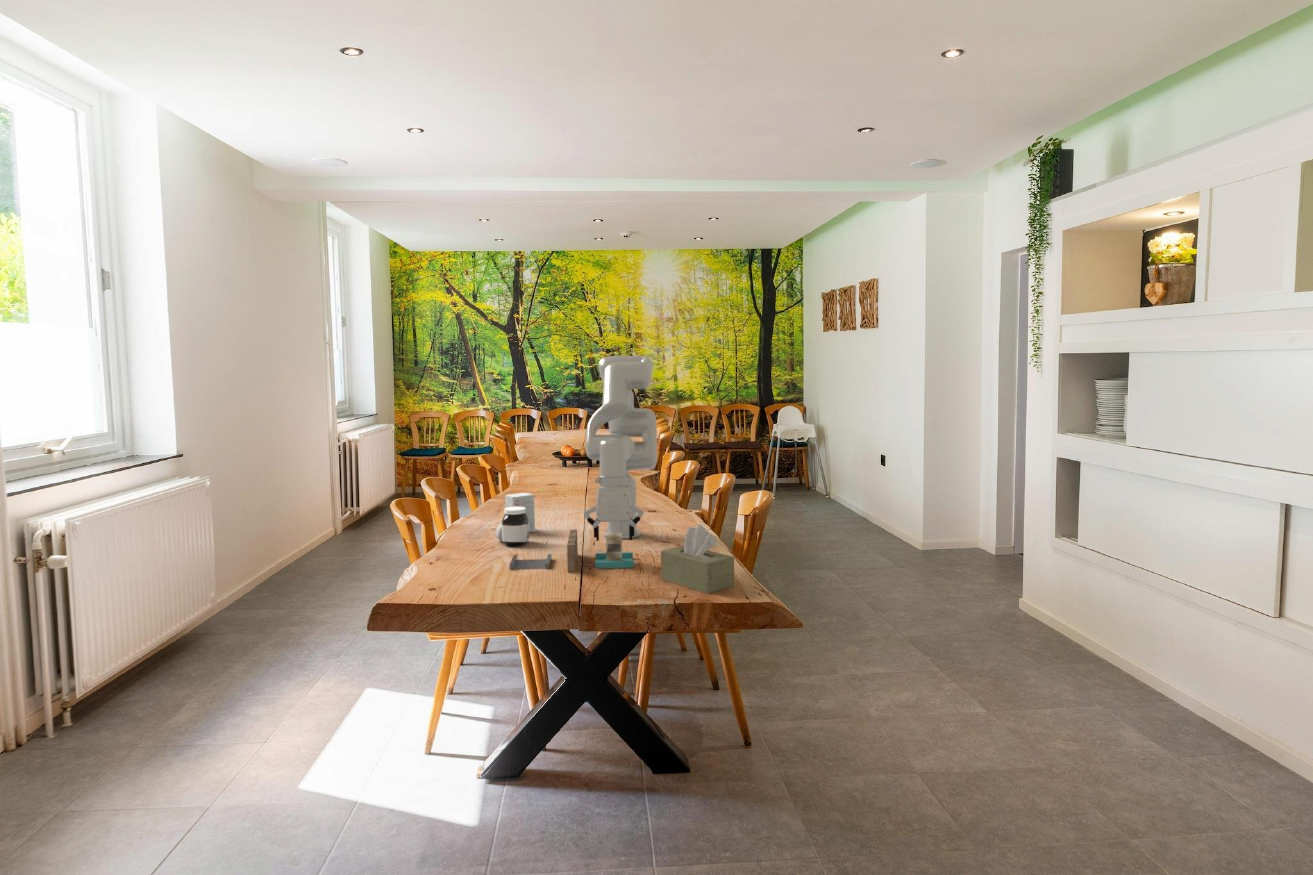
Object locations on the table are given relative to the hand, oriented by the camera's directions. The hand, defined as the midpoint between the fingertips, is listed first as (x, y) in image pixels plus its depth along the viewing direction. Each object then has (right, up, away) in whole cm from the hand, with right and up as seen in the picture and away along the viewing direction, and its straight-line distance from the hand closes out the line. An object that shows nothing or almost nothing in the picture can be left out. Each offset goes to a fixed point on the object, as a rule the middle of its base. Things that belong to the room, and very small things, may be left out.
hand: (614, 539), depth 237 cm
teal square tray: (0, -7, 0) cm, 7 cm away
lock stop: (0, -7, 0) cm, 7 cm away
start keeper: (-24, -7, -2) cm, 25 cm away
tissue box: (+23, -9, -21) cm, 33 cm away
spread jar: (-35, -5, +27) cm, 44 cm away
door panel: (-12, -7, -1) cm, 14 cm away
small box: (-35, -3, +44) cm, 56 cm away
